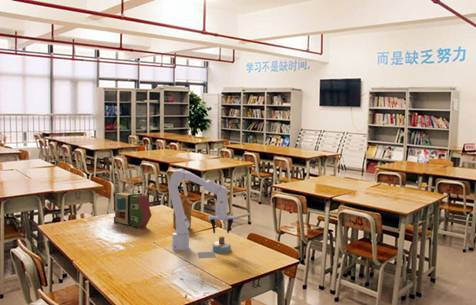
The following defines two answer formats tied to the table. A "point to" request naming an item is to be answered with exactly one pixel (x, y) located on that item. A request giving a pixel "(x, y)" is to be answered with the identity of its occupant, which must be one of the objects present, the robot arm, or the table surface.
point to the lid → (221, 243)
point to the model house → (131, 209)
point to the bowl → (221, 249)
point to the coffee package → (186, 209)
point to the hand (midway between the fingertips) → (221, 232)
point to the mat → (206, 254)
